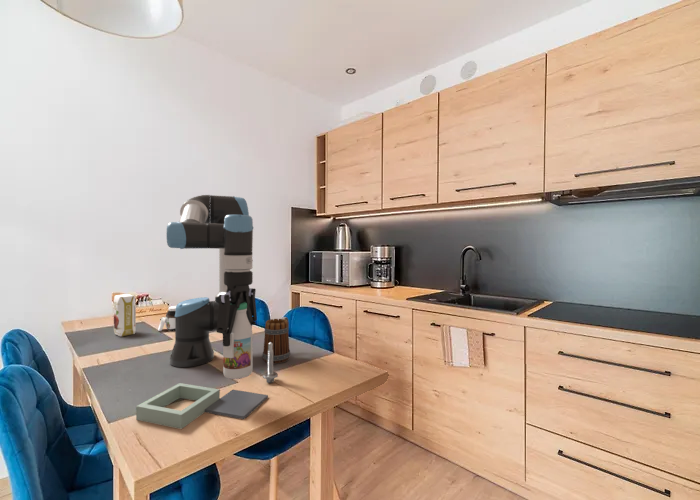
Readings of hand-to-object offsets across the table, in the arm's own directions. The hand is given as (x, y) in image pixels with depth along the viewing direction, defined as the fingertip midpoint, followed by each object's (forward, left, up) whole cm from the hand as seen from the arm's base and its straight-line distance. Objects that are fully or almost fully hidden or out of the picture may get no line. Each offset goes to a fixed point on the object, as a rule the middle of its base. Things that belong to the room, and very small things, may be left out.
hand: (238, 352), depth 88 cm
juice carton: (-93, +42, -15) cm, 103 cm away
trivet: (0, 0, -15) cm, 15 cm away
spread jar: (-78, +55, -15) cm, 97 cm away
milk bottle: (0, 0, -6) cm, 6 cm away
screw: (+1, +16, -15) cm, 22 cm away
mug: (-7, +37, -15) cm, 41 cm away
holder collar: (-13, -7, -15) cm, 21 cm away
